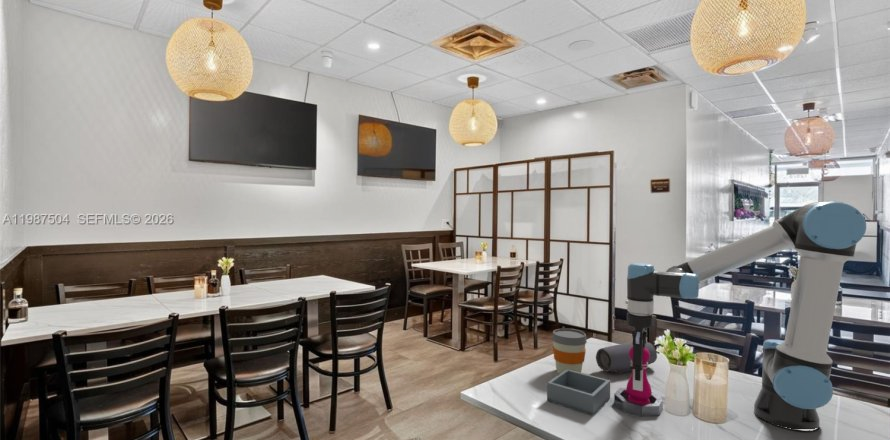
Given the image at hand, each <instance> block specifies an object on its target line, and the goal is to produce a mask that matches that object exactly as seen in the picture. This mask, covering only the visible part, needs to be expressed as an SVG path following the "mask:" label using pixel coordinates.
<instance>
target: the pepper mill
mask: <svg viewBox="0 0 890 440" xmlns="http://www.w3.org/2000/svg"><path fill="white" fill-rule="evenodd" d="M629 356H630V358H631V359H632V360H631V366H633V347H632V348H631V349H630V350H629ZM649 359H650V353H649V351H648V350H647V349H646V348H645V347H644V348H643V363H642V368H643V391H639V390H634V389H633V369H632V371H631V374H630V378H629V379H628V381H627V383H626V388H627V389H626V390H627V393H628V394H629V396H628V399H627V400H628V401H631V402H635V403H638V404H651V403H650V400H649V399H648V398H650V397H651V395H652V392H653V390H652V387H651V385H650V382H649V380H648V377H647V376H648V375H647V369H648V368H649V365H648V363H647V361H648V360H649Z"/></svg>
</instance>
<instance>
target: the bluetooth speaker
mask: <svg viewBox="0 0 890 440" xmlns="http://www.w3.org/2000/svg"><path fill="white" fill-rule="evenodd" d="M632 347H633V342H627V343H626V342H625V343H621V344H615V345H610V346H605V347H601V348H599V349H597V351H596V354H595V361H596V365H597V366H598V368H600V369H601V370H602V371H603V372H616V373H626V372H632V369H631V367H632V366H631V360H632V359H631V358H630V356H629V350H630V349H631V348H632ZM646 349H647V350H648V351H649V353H650V359H649V360H648V361H647V363H648V366H649V365H651V364H654V363H655V362H656V361H657V359H658V354H657V350H656V348H655V347H654V345H653V343H651V342H648V341H646Z"/></svg>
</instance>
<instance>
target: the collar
mask: <svg viewBox="0 0 890 440" xmlns="http://www.w3.org/2000/svg"><path fill="white" fill-rule="evenodd" d="M626 389H627V387H620V388H618V389H617V390H616V391H615V392H614V393H613V394H614V396H613V399H614V400H613V402H614V404H615V405H616V406H617V407H618V408H619V409H620V410H621V411H622V412H625V413H628V414H631V415H635V416H638V417H656V416H657V417H658V416H660V414H661V412H663V407H664V406H663V405H664V403H663V402H664V399H663V398H661V397H660V396H659V395H657V394H656V393H655V392H653V391H652V395H651V397H650V398H648V399H649V400H650V404H638V403H635V402H631V401H628V396H629V394H628V393H627V390H626Z"/></svg>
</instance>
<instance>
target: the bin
mask: <svg viewBox="0 0 890 440" xmlns="http://www.w3.org/2000/svg"><path fill="white" fill-rule="evenodd" d="M546 383H547V384H546V388H547V389H546V401H547V402H548V403H552V404H554V405H555V404H556V405H559V406H561V407H564V408H568V409H571V410H573V411H574V410H575V411H577V412H581V413H583V414H587V415H590V416H593V417H594V416H595V415H596V414H597V413H598V412H599V410H601V409H602V408H603V407H604V405H606V403H607V402H608V401H609V400H610V399H611V380H610V379H606V378H603V377H602V378H601V377H600V376H599V377H598V376H594V375H590V374H587V373H583V372H581V373H580V372H576V371H572V370H568V369H566V370H565V371H563V372H562V373H560V374H557V375H556V376H555V377H553V378H552V379H551V380H549V381H548V382H546Z"/></svg>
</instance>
